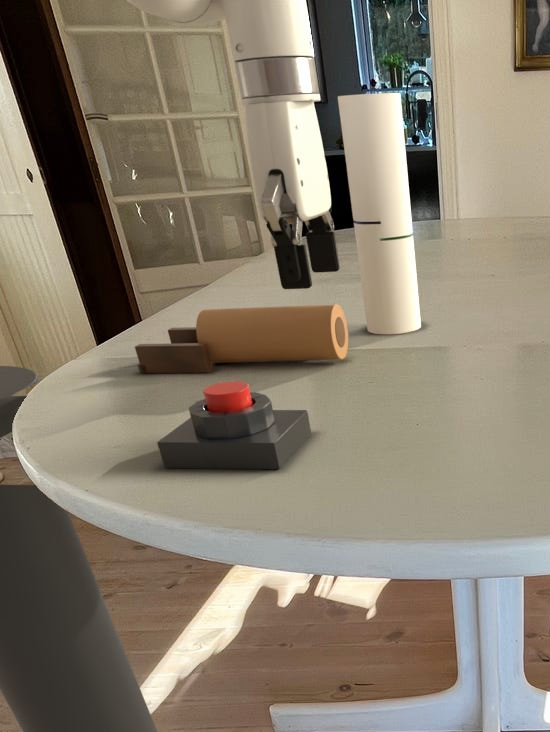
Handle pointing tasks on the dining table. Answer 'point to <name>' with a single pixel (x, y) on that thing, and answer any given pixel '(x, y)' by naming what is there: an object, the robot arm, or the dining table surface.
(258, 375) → the dining table surface
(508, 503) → the dining table surface
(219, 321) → the paper roll
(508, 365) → the dining table surface
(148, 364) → the roll stand
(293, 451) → the button box
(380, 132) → the cylindrical container
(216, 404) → the button
